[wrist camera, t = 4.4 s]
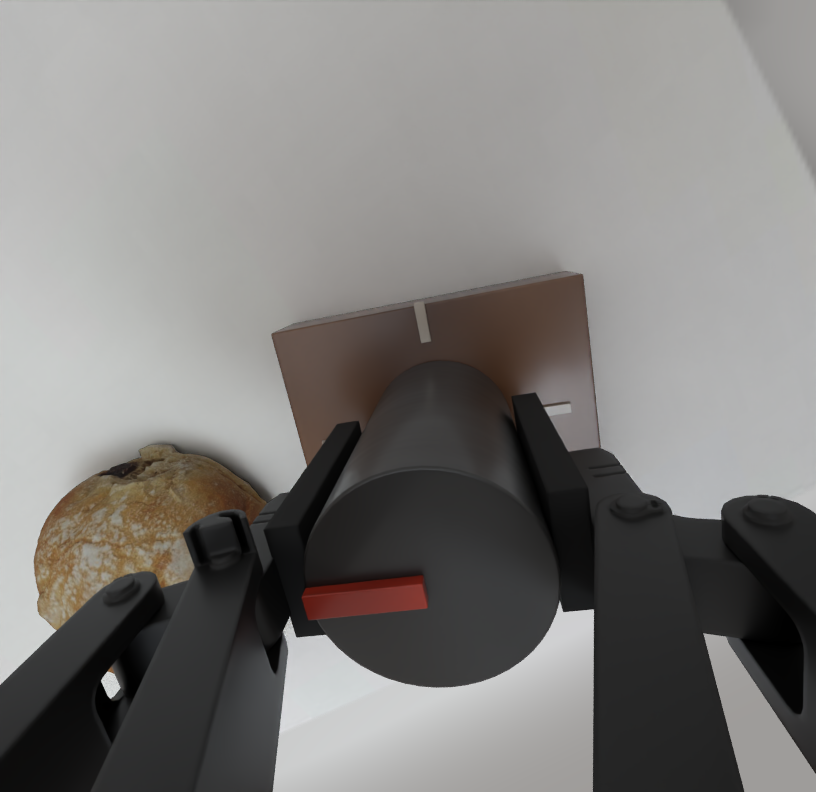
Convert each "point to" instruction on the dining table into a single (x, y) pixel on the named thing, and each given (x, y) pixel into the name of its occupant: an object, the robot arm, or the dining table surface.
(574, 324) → the dial panel
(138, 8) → the dining table surface
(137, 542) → the bread roll
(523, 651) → the dial
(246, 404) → the dining table surface
